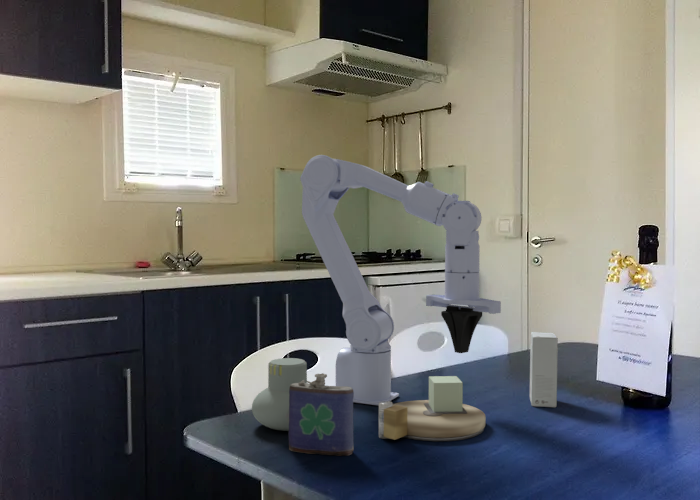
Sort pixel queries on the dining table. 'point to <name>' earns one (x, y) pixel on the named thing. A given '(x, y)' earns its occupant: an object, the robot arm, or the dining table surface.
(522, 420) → the dining table surface
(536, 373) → the skincare box
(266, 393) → the grey bulbous piece
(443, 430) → the disc
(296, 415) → the flask
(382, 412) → the turntable base
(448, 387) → the sage block
